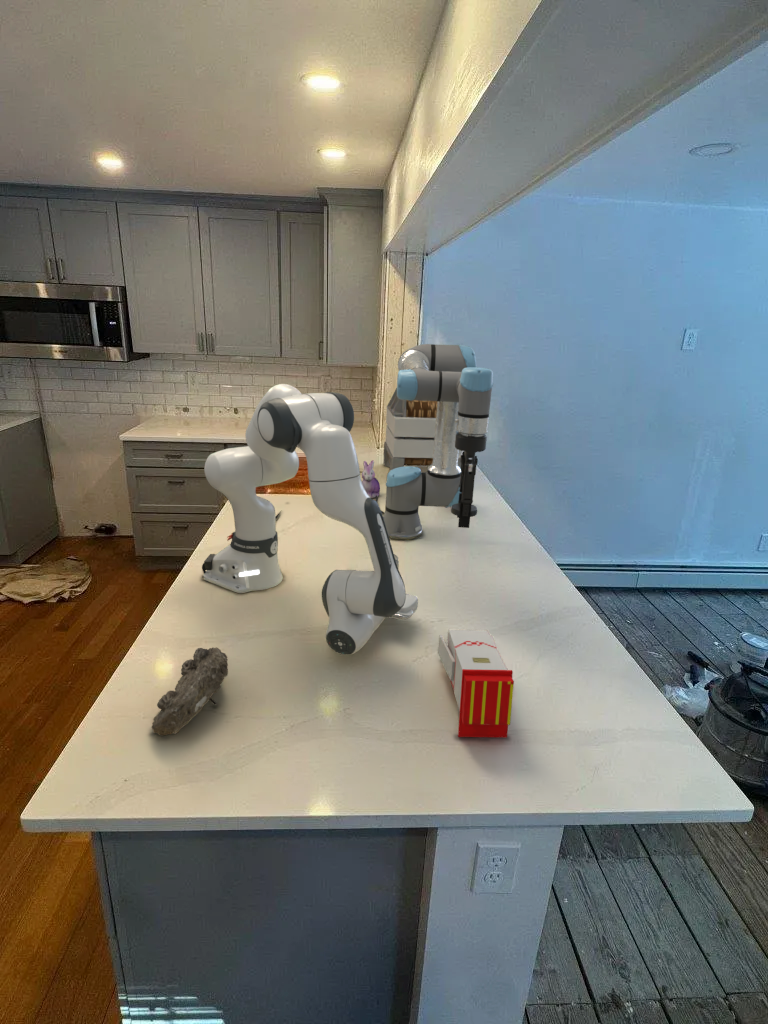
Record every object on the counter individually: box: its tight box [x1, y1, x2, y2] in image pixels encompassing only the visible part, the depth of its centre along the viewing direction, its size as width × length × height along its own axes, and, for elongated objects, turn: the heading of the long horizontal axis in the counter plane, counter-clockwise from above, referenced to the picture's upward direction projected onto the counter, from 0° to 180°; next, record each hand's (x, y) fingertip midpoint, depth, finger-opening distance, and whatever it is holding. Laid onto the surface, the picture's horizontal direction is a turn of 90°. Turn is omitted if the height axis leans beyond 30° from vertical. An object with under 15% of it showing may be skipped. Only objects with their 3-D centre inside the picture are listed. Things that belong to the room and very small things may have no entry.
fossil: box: [152, 646, 229, 736], centre depth 110 cm, size 22×10×15 cm
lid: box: [450, 503, 478, 518], centre depth 144 cm, size 6×6×2 cm
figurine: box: [361, 460, 381, 499], centre depth 236 cm, size 9×10×15 cm
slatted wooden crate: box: [383, 387, 463, 472], centre depth 268 cm, size 34×33×41 cm
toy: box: [437, 628, 515, 738], centre depth 117 cm, size 12×13×30 cm
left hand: (387, 586), depth 149 cm, fingers closed on jar, 5 cm apart
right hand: (462, 522), depth 145 cm, fingers closed on lid, 6 cm apart
